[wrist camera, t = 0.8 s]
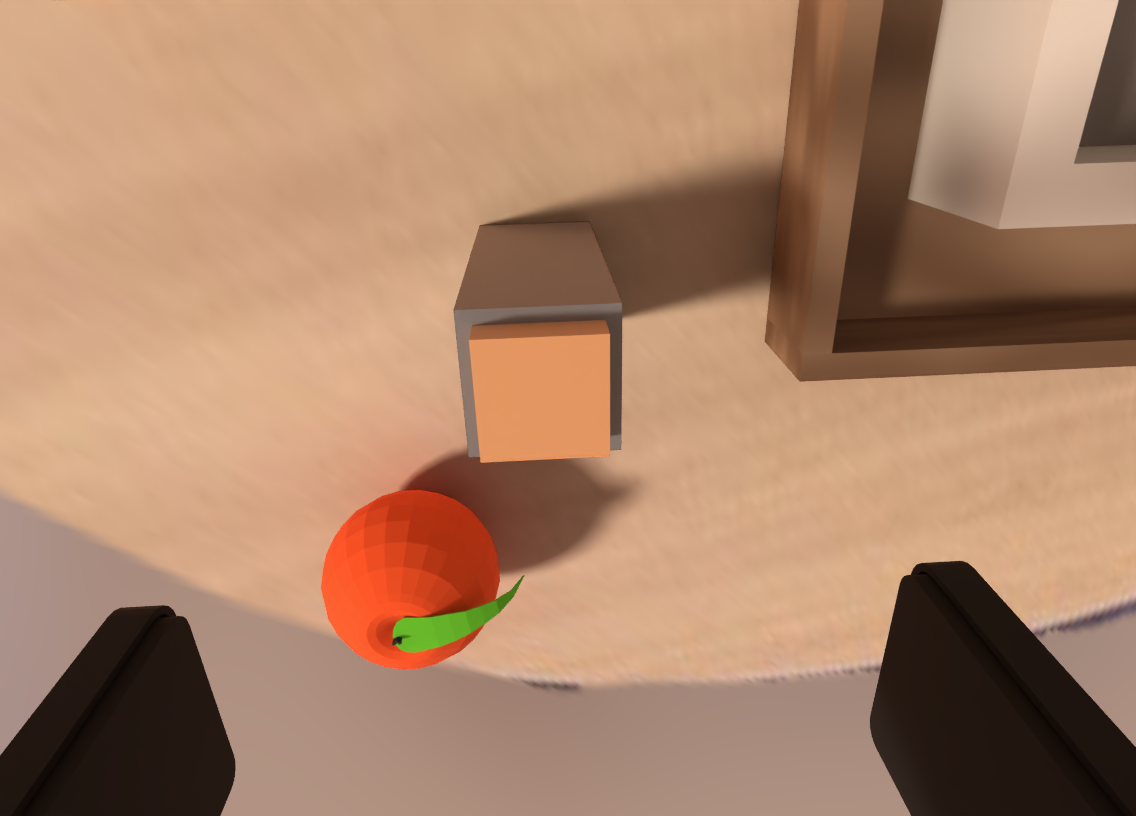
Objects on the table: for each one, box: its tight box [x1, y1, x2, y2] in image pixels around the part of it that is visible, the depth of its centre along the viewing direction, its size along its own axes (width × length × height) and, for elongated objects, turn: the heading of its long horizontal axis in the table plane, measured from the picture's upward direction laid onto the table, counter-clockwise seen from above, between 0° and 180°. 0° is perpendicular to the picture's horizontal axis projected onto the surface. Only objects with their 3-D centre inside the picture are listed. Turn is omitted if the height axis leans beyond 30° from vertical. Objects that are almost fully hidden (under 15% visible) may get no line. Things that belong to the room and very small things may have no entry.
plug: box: [454, 221, 622, 463], centre depth 21 cm, size 4×4×11 cm
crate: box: [765, 0, 1136, 381], centre depth 23 cm, size 18×20×4 cm
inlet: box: [908, 0, 1136, 229], centre depth 21 cm, size 9×9×5 cm
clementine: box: [321, 490, 524, 669], centre depth 28 cm, size 8×7×7 cm
